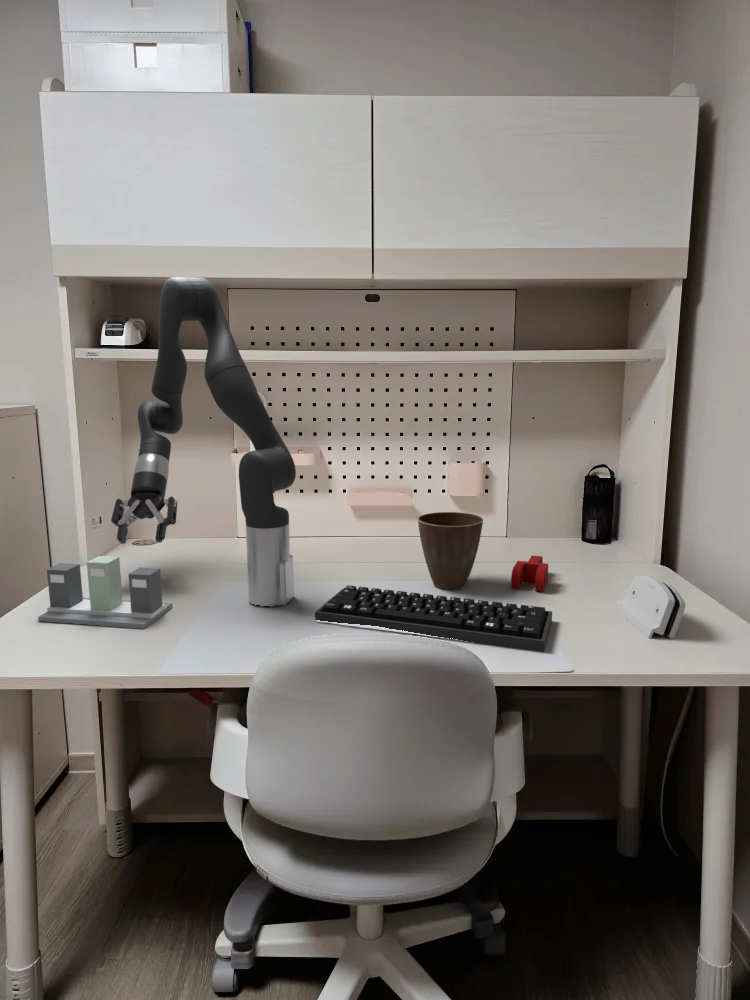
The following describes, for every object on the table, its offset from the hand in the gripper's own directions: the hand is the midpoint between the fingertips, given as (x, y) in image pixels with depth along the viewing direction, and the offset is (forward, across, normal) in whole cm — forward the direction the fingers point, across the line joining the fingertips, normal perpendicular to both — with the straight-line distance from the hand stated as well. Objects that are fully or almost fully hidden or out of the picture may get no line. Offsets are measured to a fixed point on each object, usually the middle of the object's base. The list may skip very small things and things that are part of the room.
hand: (140, 541), depth 153 cm
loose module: (+16, -2, -5) cm, 17 cm away
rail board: (+18, -3, -4) cm, 18 cm away
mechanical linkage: (+5, +88, +23) cm, 91 cm away
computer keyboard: (+20, +65, 0) cm, 68 cm away
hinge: (+20, +108, +4) cm, 110 cm away
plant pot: (+6, +68, +19) cm, 71 cm away
